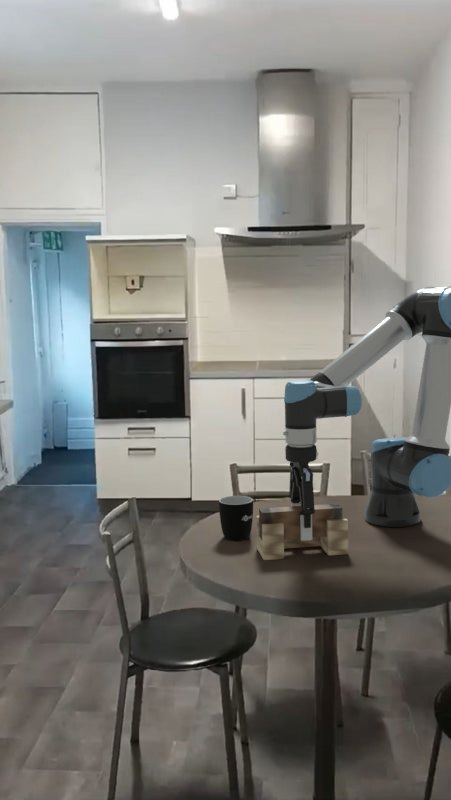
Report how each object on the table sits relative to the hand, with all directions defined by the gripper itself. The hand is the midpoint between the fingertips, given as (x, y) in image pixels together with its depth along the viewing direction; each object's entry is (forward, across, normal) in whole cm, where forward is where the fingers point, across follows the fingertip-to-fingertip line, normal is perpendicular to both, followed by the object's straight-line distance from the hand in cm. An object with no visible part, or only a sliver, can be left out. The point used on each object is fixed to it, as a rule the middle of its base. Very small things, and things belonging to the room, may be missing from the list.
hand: (301, 534), depth 199 cm
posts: (+4, 0, 0) cm, 4 cm away
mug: (+5, -16, -13) cm, 21 cm away
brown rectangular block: (0, 0, 0) cm, 0 cm away
